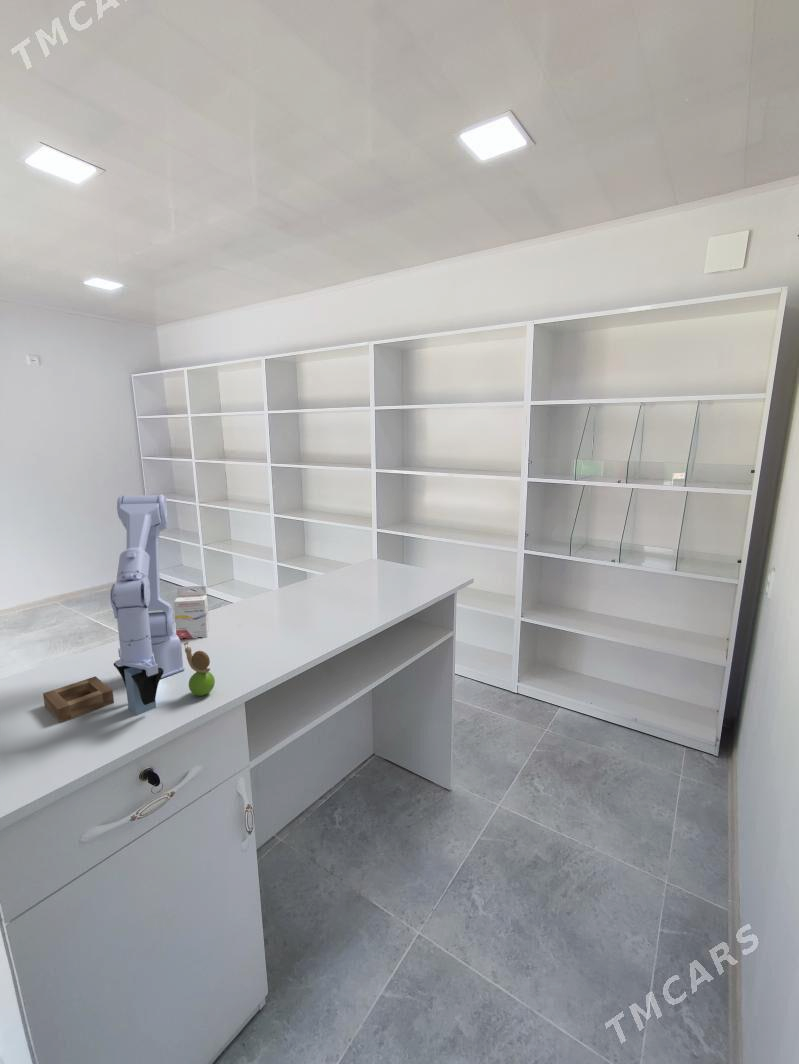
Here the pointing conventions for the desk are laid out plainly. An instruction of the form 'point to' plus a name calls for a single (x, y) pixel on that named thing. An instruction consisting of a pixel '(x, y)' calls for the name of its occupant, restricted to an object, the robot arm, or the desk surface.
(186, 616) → the ink cartridge box
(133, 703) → the slate-blue peg
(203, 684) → the snail figurine
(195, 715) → the desk surface
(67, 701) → the walnut collar
